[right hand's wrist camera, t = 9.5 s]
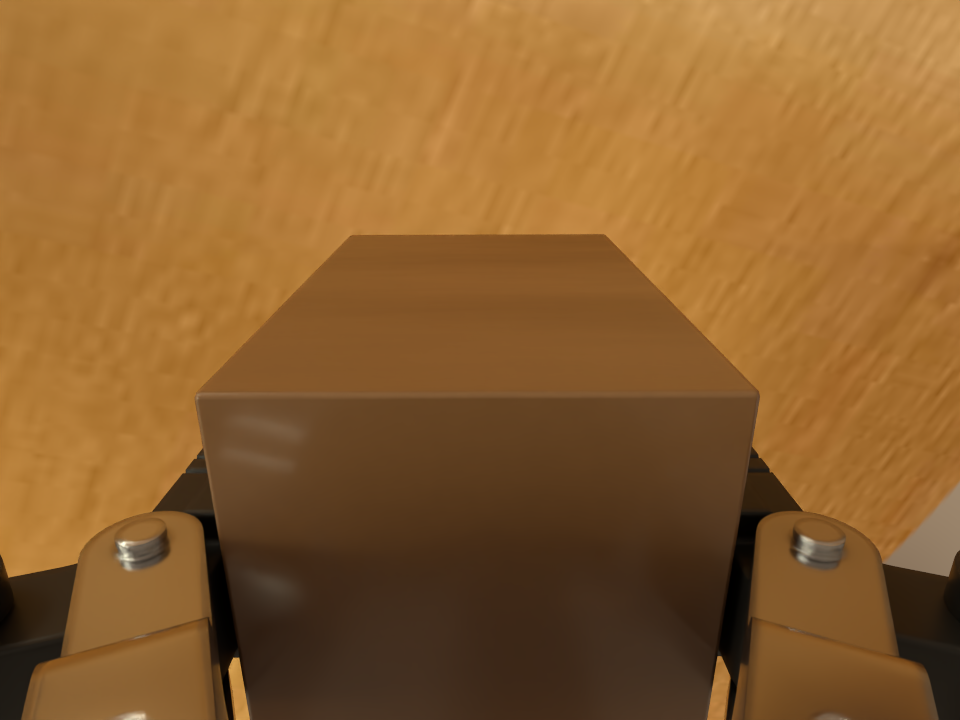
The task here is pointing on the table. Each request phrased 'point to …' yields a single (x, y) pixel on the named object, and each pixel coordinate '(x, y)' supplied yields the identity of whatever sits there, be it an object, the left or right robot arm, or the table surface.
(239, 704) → the table surface
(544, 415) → the bar
